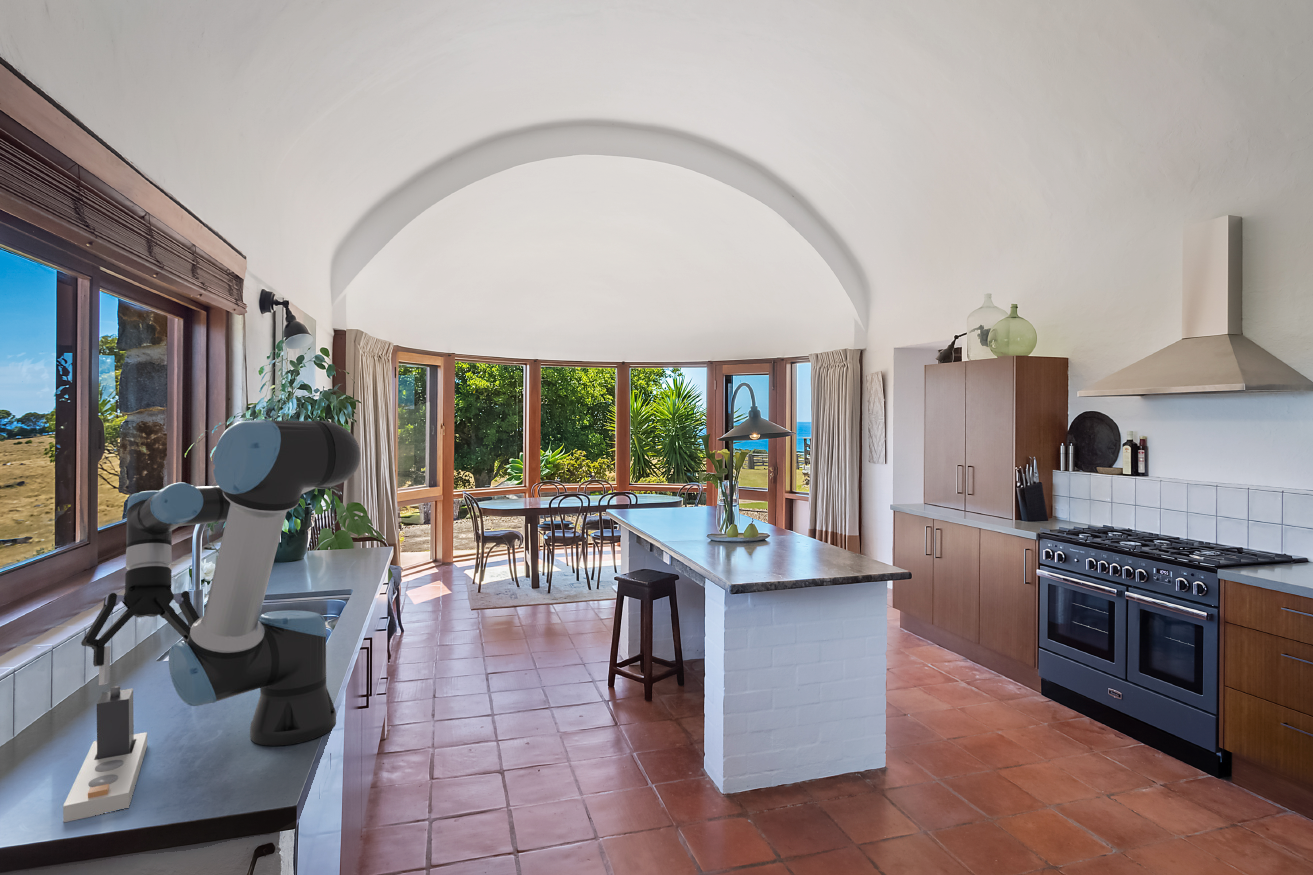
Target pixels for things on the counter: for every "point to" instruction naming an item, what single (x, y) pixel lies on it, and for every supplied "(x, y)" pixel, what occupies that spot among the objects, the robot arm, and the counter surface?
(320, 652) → the robot arm
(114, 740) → the grey block with knob
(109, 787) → the power strip
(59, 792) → the counter surface
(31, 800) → the counter surface
